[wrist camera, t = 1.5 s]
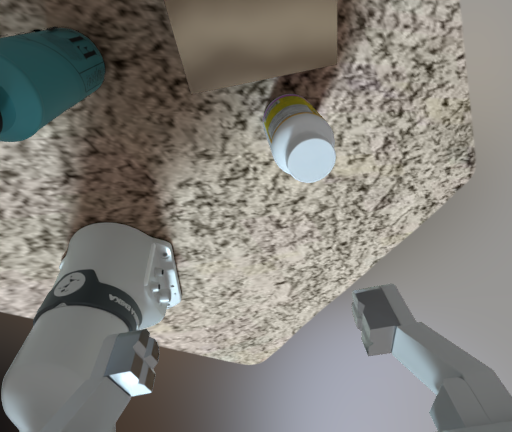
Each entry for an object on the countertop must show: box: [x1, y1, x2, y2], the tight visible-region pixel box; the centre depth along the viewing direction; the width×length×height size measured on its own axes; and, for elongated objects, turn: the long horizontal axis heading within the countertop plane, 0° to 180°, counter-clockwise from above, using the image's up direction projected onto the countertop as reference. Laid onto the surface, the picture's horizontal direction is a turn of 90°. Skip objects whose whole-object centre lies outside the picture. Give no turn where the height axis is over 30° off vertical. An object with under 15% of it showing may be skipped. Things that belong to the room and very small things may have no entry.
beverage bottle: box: [0, 26, 106, 142], centre depth 24 cm, size 6×7×20 cm
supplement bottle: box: [263, 94, 336, 183], centre depth 33 cm, size 7×7×13 cm
